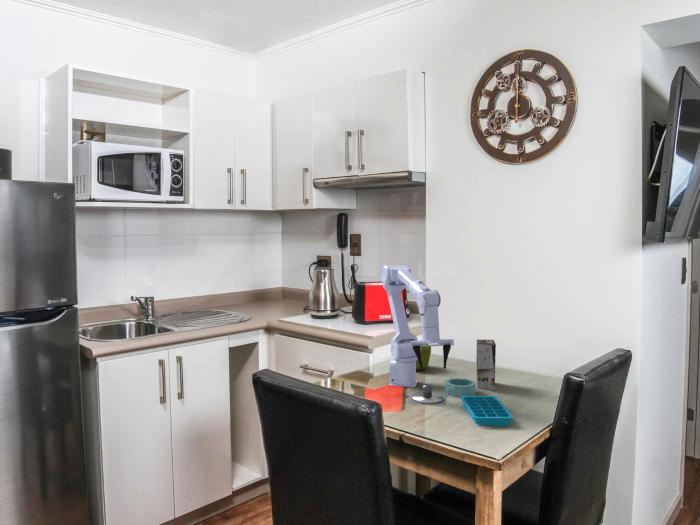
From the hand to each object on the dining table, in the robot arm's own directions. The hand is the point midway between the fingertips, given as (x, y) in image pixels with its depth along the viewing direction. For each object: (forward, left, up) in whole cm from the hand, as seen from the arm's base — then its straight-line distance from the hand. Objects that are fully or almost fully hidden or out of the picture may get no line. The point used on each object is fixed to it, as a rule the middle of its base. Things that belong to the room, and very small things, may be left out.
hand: (433, 368), depth 179 cm
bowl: (+8, +9, -11) cm, 16 cm away
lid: (-2, -1, -10) cm, 10 cm away
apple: (-12, +38, -11) cm, 42 cm away
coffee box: (+16, +21, -11) cm, 29 cm away
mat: (-2, -1, -11) cm, 11 cm away
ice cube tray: (+17, -10, -11) cm, 23 cm away
